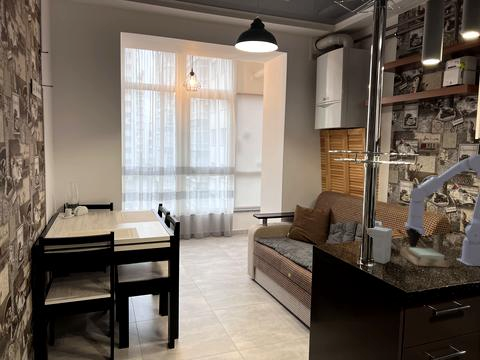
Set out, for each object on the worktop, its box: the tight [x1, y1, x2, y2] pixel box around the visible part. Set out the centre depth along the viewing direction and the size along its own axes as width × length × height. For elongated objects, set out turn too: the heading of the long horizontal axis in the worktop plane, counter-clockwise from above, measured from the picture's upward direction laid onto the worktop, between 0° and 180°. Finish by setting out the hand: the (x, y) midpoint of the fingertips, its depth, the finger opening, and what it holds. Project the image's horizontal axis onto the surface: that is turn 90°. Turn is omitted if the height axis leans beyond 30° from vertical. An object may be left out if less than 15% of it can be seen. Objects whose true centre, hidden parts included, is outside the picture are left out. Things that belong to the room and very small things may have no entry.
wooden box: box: [399, 246, 451, 268], centre depth 147 cm, size 13×14×4 cm
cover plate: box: [408, 247, 446, 260], centre depth 146 cm, size 9×10×2 cm
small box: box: [366, 226, 393, 265], centre depth 144 cm, size 8×6×13 cm
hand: (412, 246), depth 156 cm, fingers closed
